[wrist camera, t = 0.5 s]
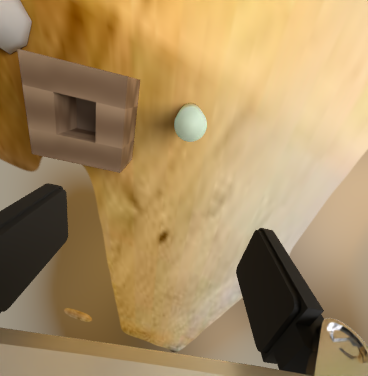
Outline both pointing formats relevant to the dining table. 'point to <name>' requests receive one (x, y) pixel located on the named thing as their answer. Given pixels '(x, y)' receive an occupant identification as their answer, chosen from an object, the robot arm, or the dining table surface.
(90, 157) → the socket block
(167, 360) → the robot arm
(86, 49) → the dining table surface
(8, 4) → the flask
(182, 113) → the peg
